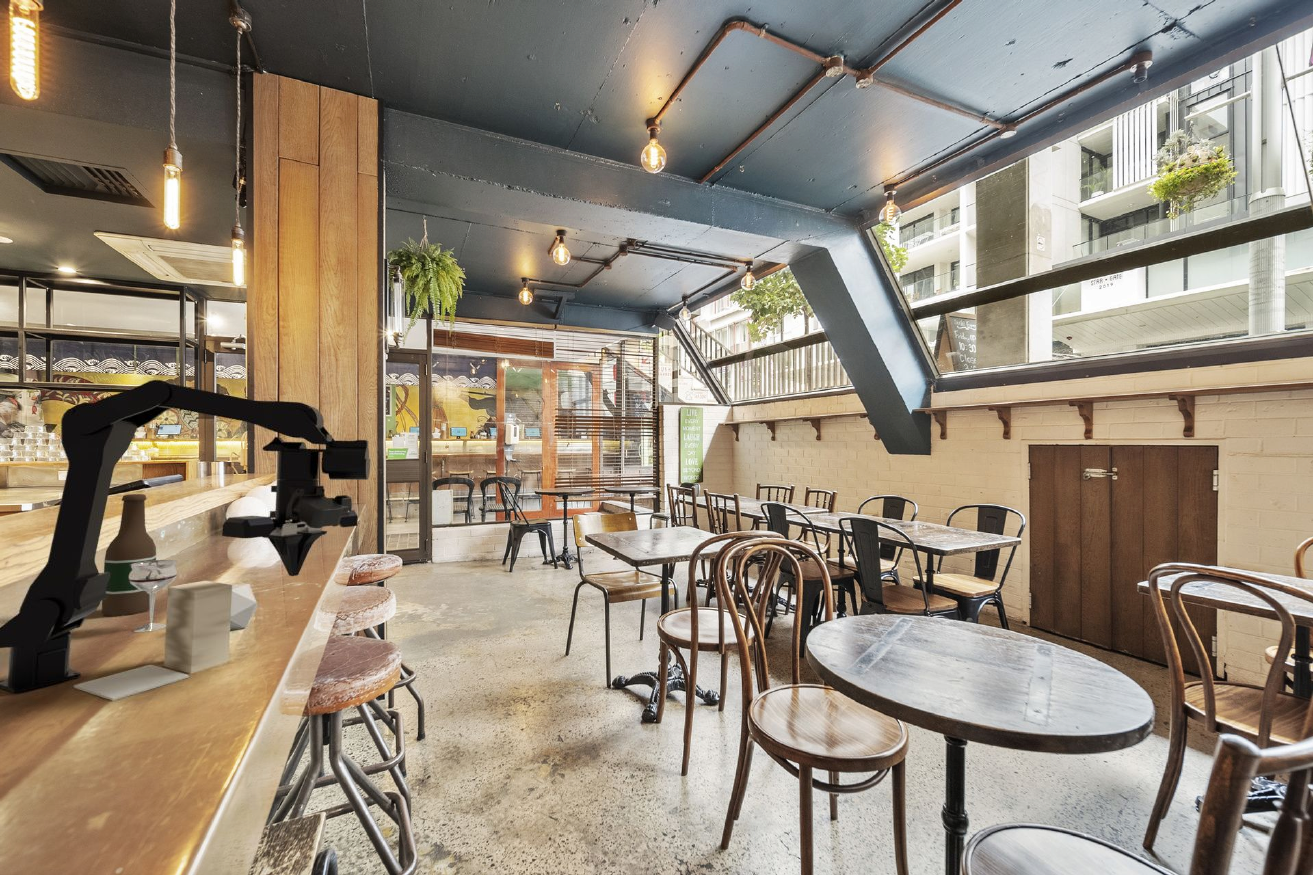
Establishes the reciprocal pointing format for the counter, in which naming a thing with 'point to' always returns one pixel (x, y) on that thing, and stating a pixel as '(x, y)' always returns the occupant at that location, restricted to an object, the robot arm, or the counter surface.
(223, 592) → the birch block
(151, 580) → the wineglass
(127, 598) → the beer bottle
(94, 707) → the counter surface
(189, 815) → the counter surface
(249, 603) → the die
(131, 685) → the mat
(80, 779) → the counter surface
